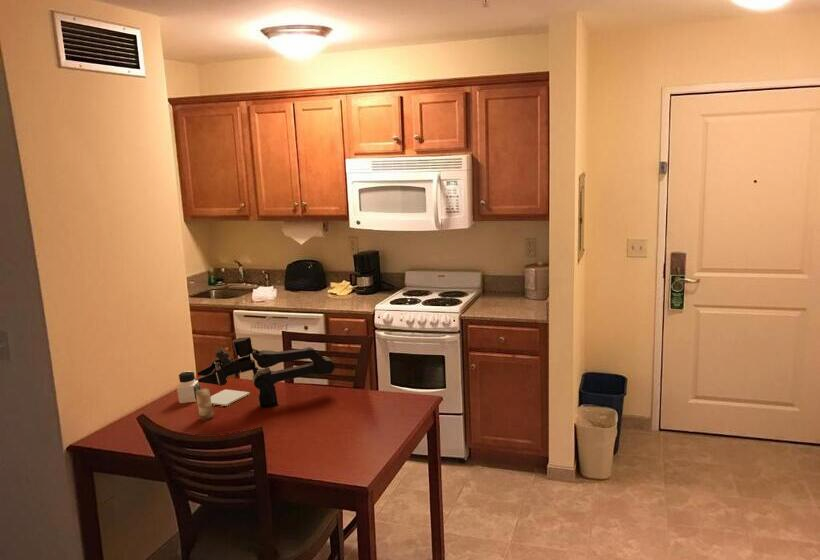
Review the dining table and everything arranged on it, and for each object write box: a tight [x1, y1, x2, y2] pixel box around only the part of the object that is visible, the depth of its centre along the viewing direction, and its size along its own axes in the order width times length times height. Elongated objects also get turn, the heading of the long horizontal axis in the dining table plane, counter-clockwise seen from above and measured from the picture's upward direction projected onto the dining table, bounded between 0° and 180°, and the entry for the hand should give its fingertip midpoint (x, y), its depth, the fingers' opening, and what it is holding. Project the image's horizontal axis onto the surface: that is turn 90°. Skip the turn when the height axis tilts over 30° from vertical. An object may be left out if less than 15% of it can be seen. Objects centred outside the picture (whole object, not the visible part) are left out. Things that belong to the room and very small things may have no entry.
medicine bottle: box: [176, 370, 201, 404], centre depth 278 cm, size 7×7×12 cm
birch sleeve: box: [196, 387, 215, 421], centre depth 255 cm, size 5×5×11 cm
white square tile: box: [210, 388, 251, 407], centre depth 275 cm, size 14×14×1 cm
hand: (197, 377), depth 254 cm, fingers open, 9 cm apart
